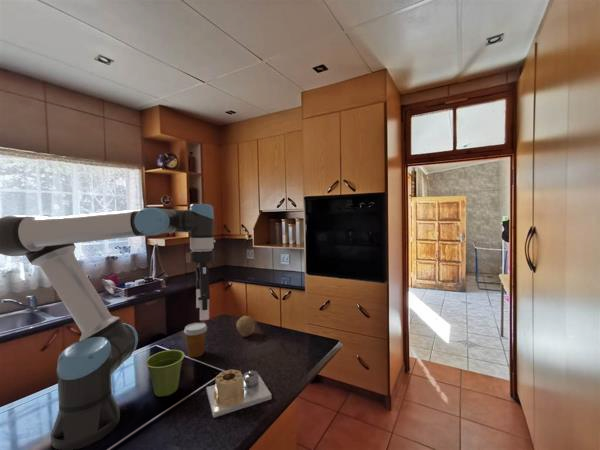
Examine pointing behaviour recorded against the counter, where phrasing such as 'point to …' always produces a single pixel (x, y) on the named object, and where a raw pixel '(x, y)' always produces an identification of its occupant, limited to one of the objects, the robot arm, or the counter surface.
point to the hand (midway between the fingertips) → (202, 313)
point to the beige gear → (229, 386)
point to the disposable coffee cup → (195, 338)
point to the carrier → (252, 395)
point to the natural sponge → (245, 326)
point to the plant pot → (165, 371)
